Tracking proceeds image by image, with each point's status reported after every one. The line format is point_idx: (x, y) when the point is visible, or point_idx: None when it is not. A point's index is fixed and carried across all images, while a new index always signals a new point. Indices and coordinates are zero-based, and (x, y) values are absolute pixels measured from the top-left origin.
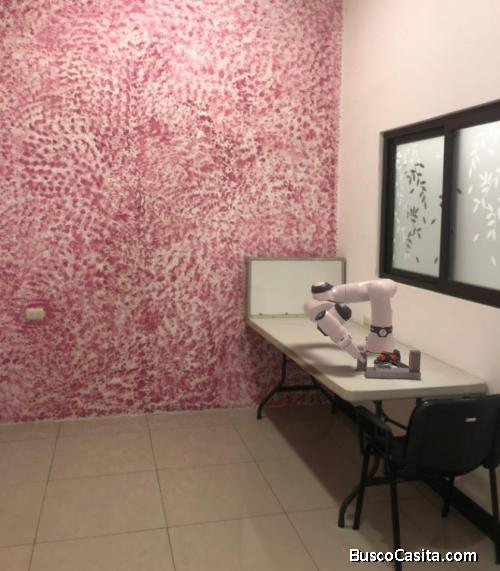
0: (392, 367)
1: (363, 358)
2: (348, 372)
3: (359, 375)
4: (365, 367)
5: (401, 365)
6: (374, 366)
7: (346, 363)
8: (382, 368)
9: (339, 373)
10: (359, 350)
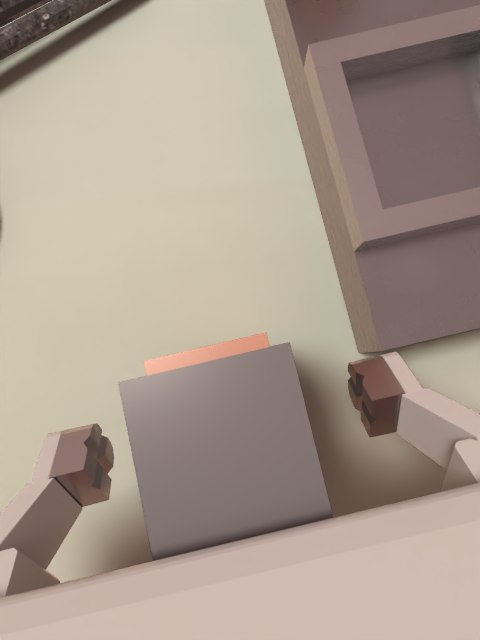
0: (422, 21)
1: (417, 380)
2: None
3: (470, 395)
4: (413, 342)
5: (54, 13)
6: (424, 229)
7: None
8: (382, 151)
9: None
10: (161, 511)
